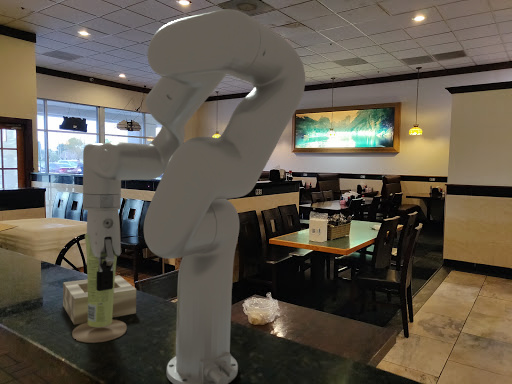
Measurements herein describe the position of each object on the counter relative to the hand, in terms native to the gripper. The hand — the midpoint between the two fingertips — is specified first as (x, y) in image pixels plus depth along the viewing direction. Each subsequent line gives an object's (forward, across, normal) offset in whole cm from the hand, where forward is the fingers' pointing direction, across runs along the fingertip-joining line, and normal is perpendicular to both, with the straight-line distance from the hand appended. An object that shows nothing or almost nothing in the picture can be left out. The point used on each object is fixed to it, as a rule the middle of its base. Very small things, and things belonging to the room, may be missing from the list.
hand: (101, 285), depth 84 cm
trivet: (+10, 0, 0) cm, 10 cm away
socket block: (+10, +14, -3) cm, 17 cm away
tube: (+9, 0, 0) cm, 9 cm away
